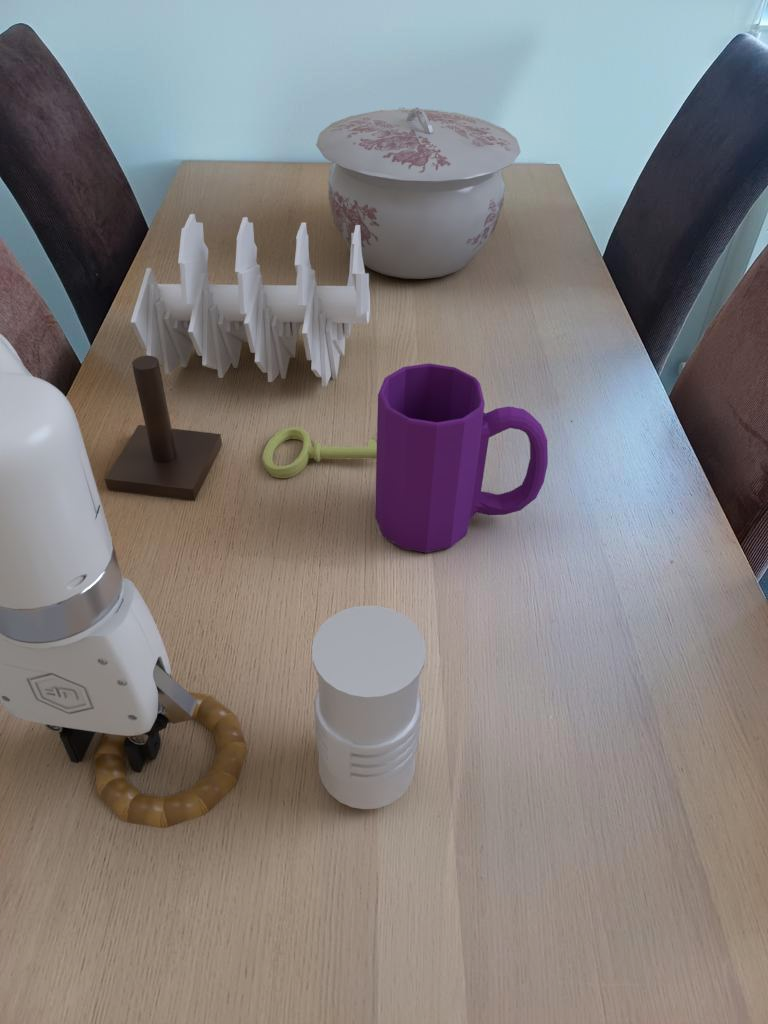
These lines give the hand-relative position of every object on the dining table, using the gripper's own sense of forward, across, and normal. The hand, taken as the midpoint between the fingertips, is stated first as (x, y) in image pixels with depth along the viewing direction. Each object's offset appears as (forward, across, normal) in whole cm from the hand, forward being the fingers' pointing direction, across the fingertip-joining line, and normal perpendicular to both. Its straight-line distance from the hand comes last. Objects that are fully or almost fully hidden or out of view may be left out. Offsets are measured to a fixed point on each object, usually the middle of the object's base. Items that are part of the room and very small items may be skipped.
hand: (116, 750), depth 58 cm
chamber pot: (+1, +11, +85) cm, 86 cm away
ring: (-1, +4, 0) cm, 4 cm away
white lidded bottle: (+1, +18, +1) cm, 18 cm away
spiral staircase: (+1, -3, +52) cm, 52 cm away
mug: (+1, +22, +29) cm, 37 cm away
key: (+1, +7, +36) cm, 37 cm away
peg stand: (0, -8, +32) cm, 33 cm away
